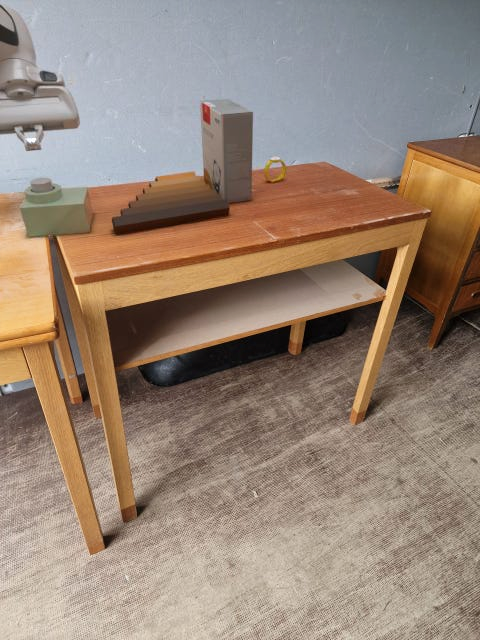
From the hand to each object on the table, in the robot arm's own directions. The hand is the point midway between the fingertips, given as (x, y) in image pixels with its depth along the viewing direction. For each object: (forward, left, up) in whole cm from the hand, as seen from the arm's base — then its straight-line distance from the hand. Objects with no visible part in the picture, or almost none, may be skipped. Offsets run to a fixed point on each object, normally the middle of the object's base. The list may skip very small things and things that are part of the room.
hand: (33, 149), depth 89 cm
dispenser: (+3, -4, -15) cm, 16 cm away
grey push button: (+1, -4, -7) cm, 8 cm away
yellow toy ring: (+55, +15, -15) cm, 59 cm away
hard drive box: (+41, +9, -15) cm, 44 cm away
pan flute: (+24, +3, -15) cm, 28 cm away
